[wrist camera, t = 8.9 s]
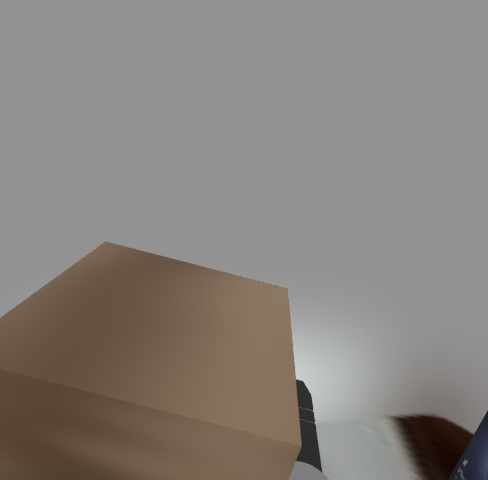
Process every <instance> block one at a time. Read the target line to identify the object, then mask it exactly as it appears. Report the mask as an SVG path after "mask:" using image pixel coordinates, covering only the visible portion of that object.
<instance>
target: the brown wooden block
mask: <svg viewBox="0 0 488 480" xmlns="http://www.w3.org/2000/svg"><path fill="white" fill-rule="evenodd" d="M301 447H302V443H301V432H300V421H299V410H298V399H297V388H296V376H295V366H294V355H293V343H292V332H291V322H290V311H289V299H288V289H287V288H283V287H279V286H275V285H272V284H267V283H264V282H260V281H256V280H252V279H248V278H245V277H241V276H236V275H233V274H229V273H225V272H221V271H217V270H213V269H210V268H206V267H202V266H198V265H194V264H190V263H187V262H183V261H179V260H174V259H171V258H167V257H163V256H159V255H156V254H152V253H147V252H144V251H140V250H136V249H132V248H128V247H124V246H121V245H117V244H113V243H109V242H104V243H103V244H101V245H100V246H99V247H97V248H96V249H95V250H93V251H92V252H90V253H89V254H88V255H87V256H85V257H84V258H82V259H81V260H80V261H78V262H77V263H75V264H74V265H73V266H71V267H70V268H69V269H67V270H66V271H64V272H63V273H62V274H60V275H59V276H57V277H56V278H55V279H53V280H52V281H50V282H49V283H48V284H46V285H45V286H44V287H42V288H41V289H39V290H38V291H37V292H35V293H34V294H33V295H31V296H30V297H28V298H27V299H26V300H24V301H23V302H22V303H20V304H19V305H17V306H16V307H15V308H13V309H12V310H11V311H9V312H8V313H6V314H5V315H4V316H2V317H1V318H0V480H289V477H290V475H291V472H292V470H293V467H294V465H295V462H296V460H297V457H298V454H299V452H300V449H301Z"/></svg>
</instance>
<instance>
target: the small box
mask: <svg viewBox="0 0 488 480" xmlns="http://www.w3.org/2000/svg"><path fill="white" fill-rule="evenodd" d="M447 480H488V411H487V413H486V415H485V417H484V418H483V420H482V422H481V423H480V425H479V427H478V429H477V430H476V432H475V434H474V435H473V437H472V439H471V441H470V442H469V444H468V446H467V448H466V449H465V451H464V453H463V454H462V456H461V458H460V459H459V461H458V463H457V464H456V466H455V468H454V469H453V471H452V473H451V475H450V476H449V478H448V479H447Z"/></svg>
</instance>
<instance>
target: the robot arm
mask: <svg viewBox="0 0 488 480" xmlns="http://www.w3.org/2000/svg"><path fill="white" fill-rule="evenodd" d="M296 388H297V399H298V410H299V421H300V432H301V443H302V447H301V449H300V452H299V454H298V457H297V460H296V462H295V465H294V467H293V470H292V472H291V475H290V477H289V480H328V479H327V477H326V476H325V475H324V474H323V473H322V468H321V461H320V454H319V447H318V440H317V432H316V425H315V424H314V423H315V419H314V412H313V404H312V397H311V394H310V392H309V391H308V389H307V387H306V386H305V384H304V382H303V381H300V380H296Z"/></svg>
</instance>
